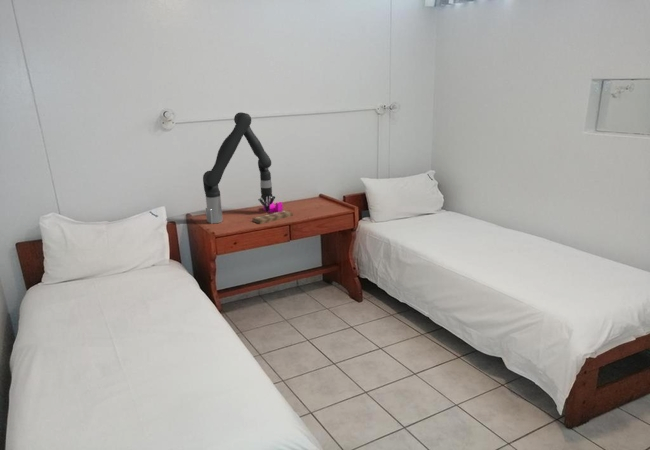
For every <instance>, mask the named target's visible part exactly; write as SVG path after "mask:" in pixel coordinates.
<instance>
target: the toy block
mask: <svg viewBox="0 0 650 450" xmlns="http://www.w3.org/2000/svg"><path fill="white" fill-rule="evenodd" d="M262 206H263V207H262V208H263V211H264V212H268V213H269V214H271V213H275V212H280V211H284V208H283V202H282V201H279V202H276V203H275V202H273V203H272V204H270V210H269V211H266V210H265V206H264V205H262Z"/></svg>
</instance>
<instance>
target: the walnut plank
mask: <svg viewBox="0 0 650 450" xmlns="http://www.w3.org/2000/svg"><path fill="white" fill-rule="evenodd" d="M289 217H293V212H291V211H288V210H284V209H283V211H280V212H274V213H268V214H264V215H260V216H256V217H252V222H253V223H256V224H259V225H262V224H265V223H266V224H267V223H270V222H274V221H277V220H282V219H285V218H289Z"/></svg>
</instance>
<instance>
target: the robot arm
mask: <svg viewBox="0 0 650 450" xmlns="http://www.w3.org/2000/svg"><path fill="white" fill-rule="evenodd" d="M233 121H234V124H235V125H234V127H233V128H232V131H231V132H230V133H229V134H228V135H227V137H226V138H225V139H224V140H223V142H222V143H221V145H220V147H219V149H218V152H217V154H216V155H217V156H216V158H215V162H214V165H213V167H211V169H210V170H206V172H204V174H203V175H202V181H203V182H202V183H203V189H204V190H203V192H204V194H205V202H206V207H205V216H206V217H205V218H206V223H209V224H211V225H212V224H213V225H214V224H219V223H222V222H224V221H223V210H222V199H221V192H220V189H219V184H220V182H221V180H222V177H223V175H224V172H225V170H226V168H227V166H228V165H229V163H230V161H231V160H232V157H233V156H234V154H235V152H236V151H237V149H238V146H239V145H240V142H241V140H242V138H243V136H244V137H245V140H246V141H247V143H248V145H249V146H250V149H251V151H252V153H253V154H254V156H255V157H257V159H258V160H257V165H258V171H259V174H260V175H259V177H260V194H261V195H260V198H258V201H259V203H260V204H261V205H262V206H263V205H264V206H265V210H266V211H265V210H264V211H265V212H267V211H269V210H270V204H272V203H274V201H275V199H276V196H274V195H273V187H272V186H273V185H272V184H273V183H272V174H271V171H270V169H269V168H270V167H272V159H271V158H270V156H269V154H268V153H267V152H266V151H265V149H264V147H263V145H262V143H261V142H260V139H259V138H258V137H257V135H256V134H255V133H254V131H253V129H252V128H251V124H252V117H251V115H250V114H249V113H247V112H246V113H245V112H236V114H235V115H234V117H233Z"/></svg>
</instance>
